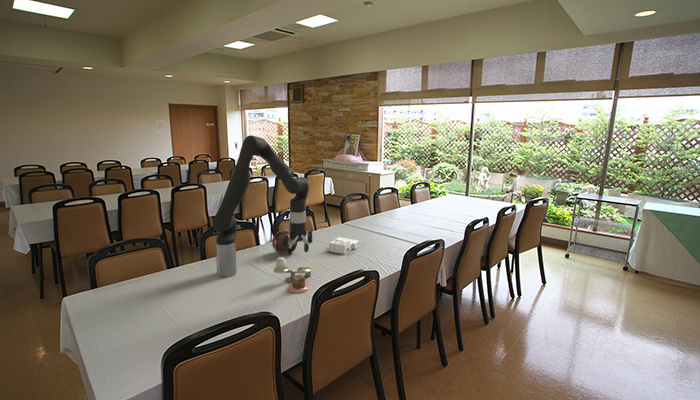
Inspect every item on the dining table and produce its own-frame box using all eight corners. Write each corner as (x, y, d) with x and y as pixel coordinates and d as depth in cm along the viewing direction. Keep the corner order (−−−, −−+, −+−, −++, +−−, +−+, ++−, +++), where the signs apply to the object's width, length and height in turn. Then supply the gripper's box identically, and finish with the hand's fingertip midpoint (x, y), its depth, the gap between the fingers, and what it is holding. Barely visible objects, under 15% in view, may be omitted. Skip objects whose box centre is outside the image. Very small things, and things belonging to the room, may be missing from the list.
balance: (277, 287, 168) (277, 273, 166) (271, 282, 173) (271, 268, 172) (313, 277, 179) (313, 264, 178) (306, 273, 185) (306, 260, 183)
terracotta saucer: (294, 295, 160) (294, 293, 160) (284, 287, 168) (284, 285, 168) (312, 289, 166) (312, 288, 166) (302, 282, 174) (302, 280, 174)
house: (350, 257, 208) (350, 248, 207) (323, 252, 216) (323, 243, 215) (364, 246, 228) (364, 237, 227) (339, 242, 236) (339, 233, 235)
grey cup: (278, 271, 168) (278, 261, 166) (274, 268, 171) (274, 257, 170) (287, 269, 170) (287, 259, 169) (283, 266, 174) (282, 256, 173)
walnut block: (296, 289, 164) (296, 279, 163) (292, 286, 167) (292, 276, 166) (305, 287, 166) (304, 277, 165) (300, 283, 170) (300, 274, 169)
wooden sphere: (294, 248, 222) (294, 226, 219) (299, 256, 208) (299, 232, 205) (270, 251, 216) (270, 228, 213) (274, 259, 203) (274, 235, 200)
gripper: (287, 224, 153) (287, 259, 156) (315, 220, 161) (315, 253, 165) (280, 220, 159) (280, 254, 162) (307, 216, 167) (307, 248, 171)
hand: (298, 253), depth 163 cm, fingers open, 8 cm apart
